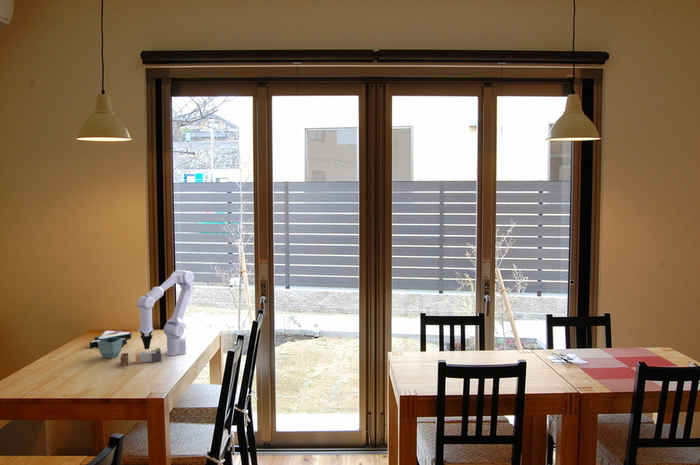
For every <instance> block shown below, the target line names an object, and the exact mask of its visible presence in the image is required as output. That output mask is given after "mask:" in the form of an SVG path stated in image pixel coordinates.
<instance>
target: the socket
mask: <svg viewBox="0 0 700 465" xmlns="http://www.w3.org/2000/svg"><path fill="white" fill-rule="evenodd" d="M120 366H121V367H125V366H126V367H127V366H129V352H124V353H122V352H120Z"/></svg>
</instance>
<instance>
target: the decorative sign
mask: <svg viewBox="0 0 700 465" xmlns="http://www.w3.org/2000/svg"><path fill="white" fill-rule="evenodd" d="M108 337H112V338H123V340H122V348H124V346H125V345H127V344H128V340H131V339H132V332H131V331H126V330H125V329H121V330H111V329H106V330H104V331H103V332H101V334H100V335H99V336H95V337H94V338H93V340H91V341H90V342H89V348H90V349H94V347H96V348H99V347H98V341H101V340H103V339H105V338H108ZM122 348H121V349H122Z"/></svg>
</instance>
